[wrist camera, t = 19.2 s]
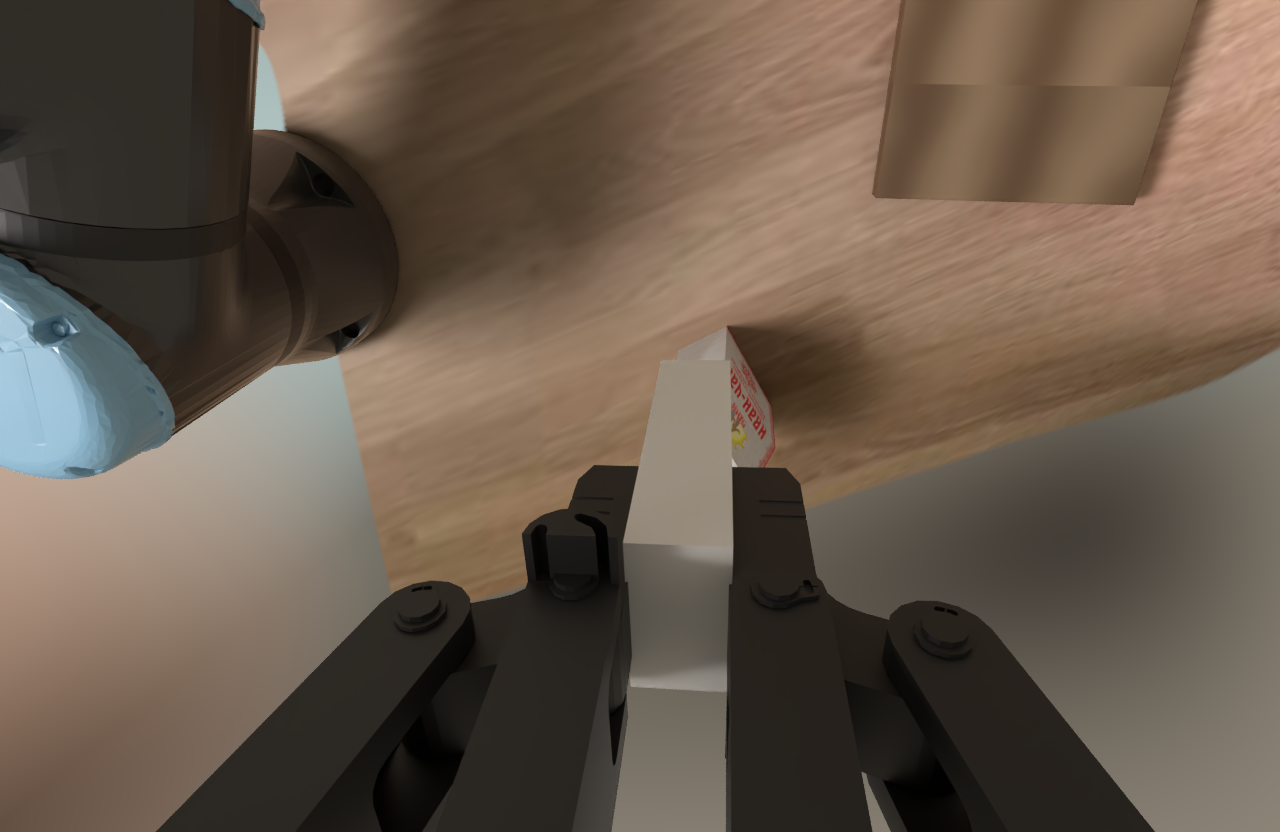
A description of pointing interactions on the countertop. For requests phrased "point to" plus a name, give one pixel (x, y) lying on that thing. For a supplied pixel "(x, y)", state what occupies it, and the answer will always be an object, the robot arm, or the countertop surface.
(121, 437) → the robot arm
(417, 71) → the countertop surface
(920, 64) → the floorboard
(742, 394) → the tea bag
